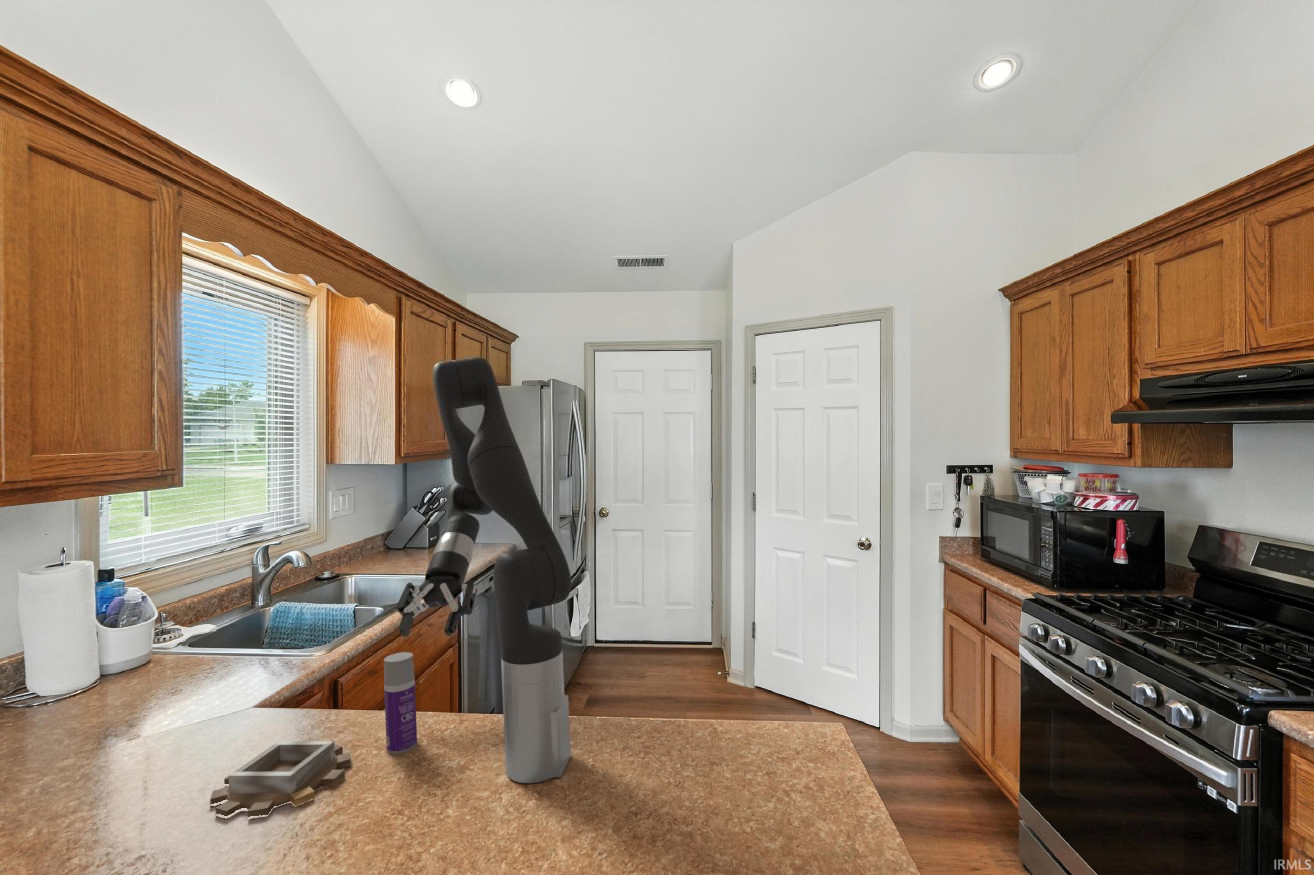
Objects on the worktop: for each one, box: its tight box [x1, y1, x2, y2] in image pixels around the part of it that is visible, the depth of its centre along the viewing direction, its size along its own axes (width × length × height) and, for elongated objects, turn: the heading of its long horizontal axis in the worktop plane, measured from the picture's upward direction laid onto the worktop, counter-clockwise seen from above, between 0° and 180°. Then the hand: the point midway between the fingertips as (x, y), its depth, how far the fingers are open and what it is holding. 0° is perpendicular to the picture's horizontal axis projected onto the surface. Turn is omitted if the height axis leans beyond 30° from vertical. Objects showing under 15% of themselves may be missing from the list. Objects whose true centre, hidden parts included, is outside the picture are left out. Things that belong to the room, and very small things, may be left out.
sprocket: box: [209, 740, 352, 818], centre depth 86 cm, size 18×18×4 cm
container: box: [383, 651, 418, 755], centre depth 95 cm, size 5×5×15 cm
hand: (425, 634), depth 104 cm, fingers open, 8 cm apart
